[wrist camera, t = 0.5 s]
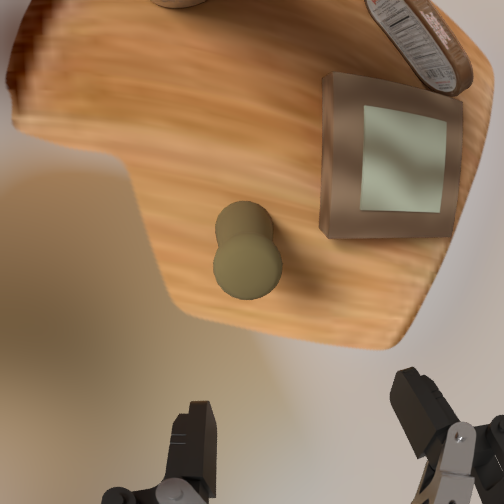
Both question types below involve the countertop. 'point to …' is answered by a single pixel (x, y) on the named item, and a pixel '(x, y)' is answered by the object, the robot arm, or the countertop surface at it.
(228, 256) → the olive pepper mill
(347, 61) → the countertop surface
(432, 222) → the stand
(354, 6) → the countertop surface
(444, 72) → the tin
